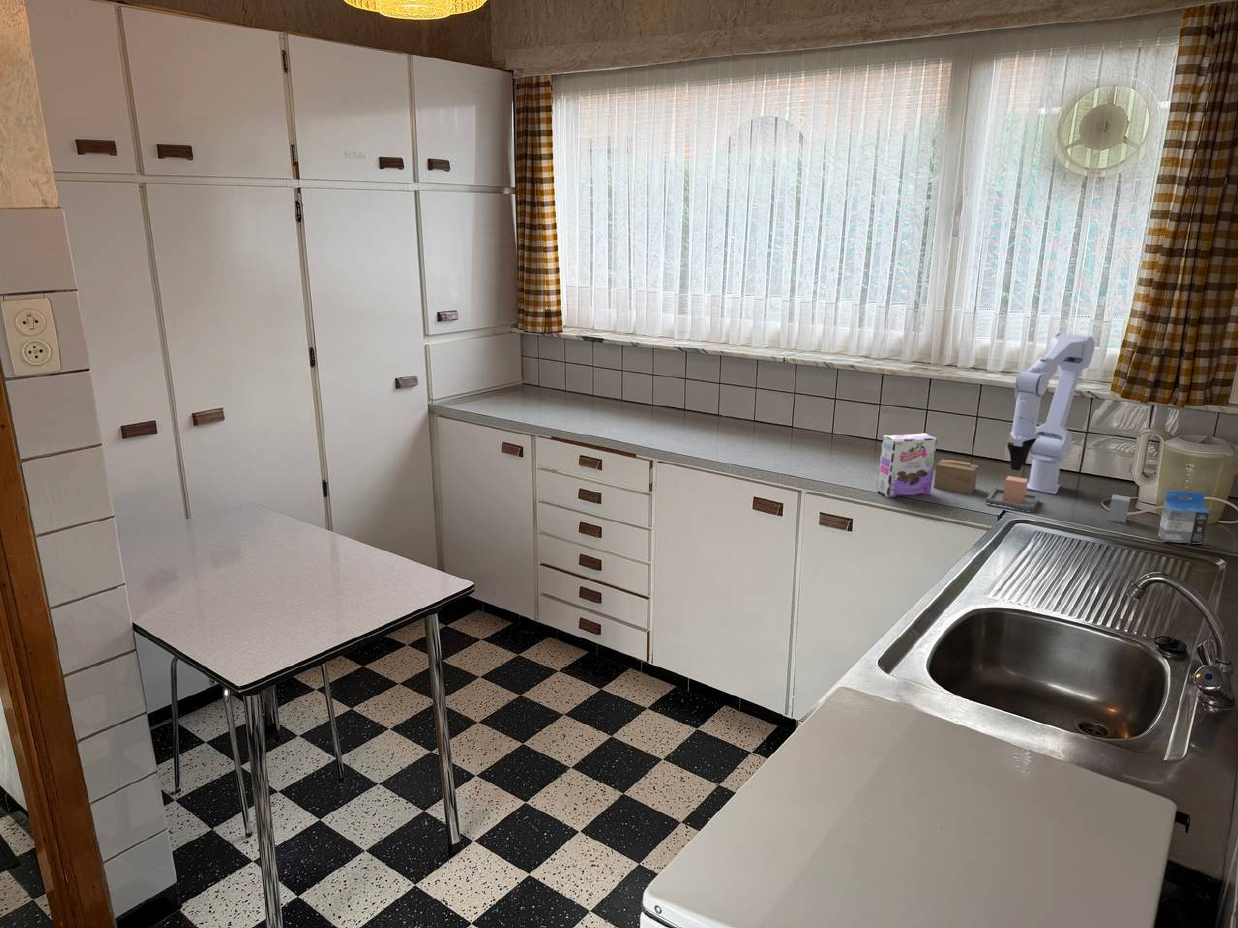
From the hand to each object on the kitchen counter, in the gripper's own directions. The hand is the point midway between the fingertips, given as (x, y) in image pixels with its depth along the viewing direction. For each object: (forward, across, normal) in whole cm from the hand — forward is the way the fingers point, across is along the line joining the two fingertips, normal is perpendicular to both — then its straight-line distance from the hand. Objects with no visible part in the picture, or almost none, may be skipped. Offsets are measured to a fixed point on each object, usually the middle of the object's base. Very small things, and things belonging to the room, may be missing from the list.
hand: (1018, 466), depth 234 cm
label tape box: (+11, -7, -39) cm, 41 cm away
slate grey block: (+10, +2, -25) cm, 27 cm away
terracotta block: (+10, 0, 0) cm, 10 cm away
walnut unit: (+10, +4, +16) cm, 19 cm away
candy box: (+11, -9, +27) cm, 30 cm away
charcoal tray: (+10, 0, 0) cm, 10 cm away
